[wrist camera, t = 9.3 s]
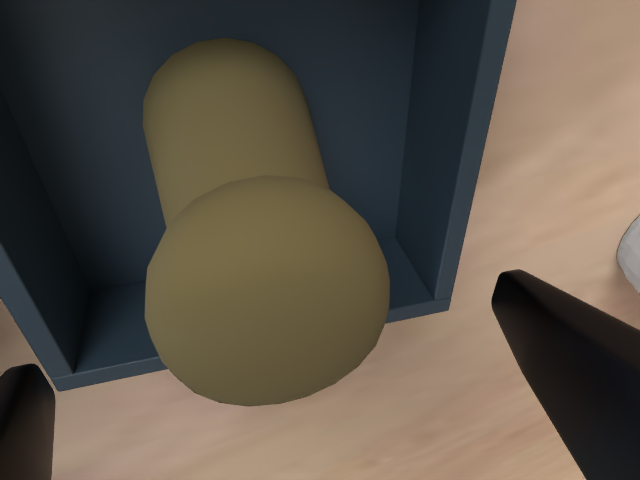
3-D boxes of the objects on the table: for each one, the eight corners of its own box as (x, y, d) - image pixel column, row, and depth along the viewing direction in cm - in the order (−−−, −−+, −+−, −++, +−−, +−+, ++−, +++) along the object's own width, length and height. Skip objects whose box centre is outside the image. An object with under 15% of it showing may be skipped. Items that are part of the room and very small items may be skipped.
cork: (283, 13, 16) (420, 174, 7) (323, 166, 19) (443, 387, 11) (108, 70, 15) (34, 308, 7) (184, 213, 19) (196, 478, 11)
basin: (401, 238, 24) (449, 311, 20) (79, 294, 21) (58, 392, 17) (448, -161, 14) (557, -177, 10) (-130, -158, 12) (-292, -178, 8)
